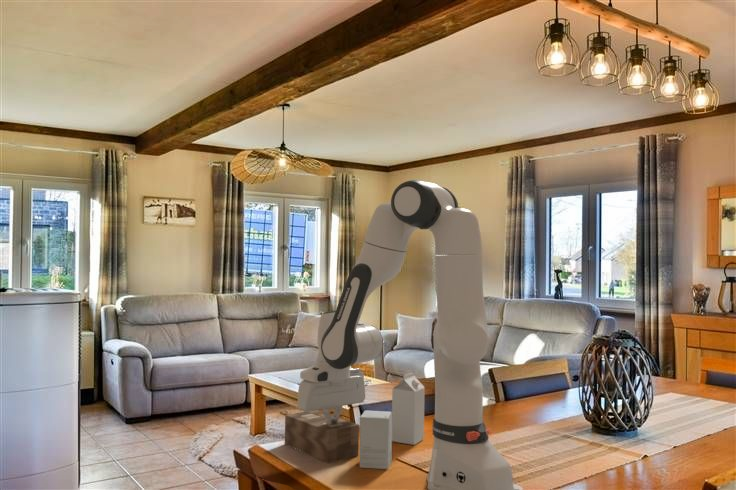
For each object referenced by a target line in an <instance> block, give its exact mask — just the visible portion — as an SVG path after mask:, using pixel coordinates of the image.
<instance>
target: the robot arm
mask: <svg viewBox="0 0 736 490" xmlns="http://www.w3.org/2000/svg"><path fill="white" fill-rule="evenodd" d="M391 194H392V195H391V198H390V202H382V203H380V204H379V205H378V206H377V207H375V209H374V212H373V214H372V216H371V218H370V221H369V224H368V226H367V229H366V232H365V236H364V239H363V240H364V241H363V244H362V248H361V251H360V253H359V255H358V258H357V261H356V262H355V264H354V266H353V268H352V270H350V272H349V274H348V276H347V280H346V281H345V284H344V286H343V289H342V292H341V295H340V298H339V300H338V303H337V307H336V308H335V309H336V310H329V311H325V312H323V313H322V314H321V315H320V317H319V320H318V327H317V347H318V354H317V358H316V363H315V364H313V365H311V366H309V367H307V368H306V369H305V368H304V369H303V370H302V371H301V372H300V374H299V375H300V376H299V377H300V379H301V382H300V383H299V385H298V389H297V390H298V391H297V406H298V408H299V410H301V411H302V412H309V411H315V410H316V411H320V410H322V413H324V415H325V417H326V424H328V425H331V424H336V423H338V421H339V418H340V415H341V413H342V412H343V406H344V407H345V406H349V405H350V406H351V405H355V404H361V403H364V401H365V400H366V385H365V380H364V379H365V378H364V377H365V375H364V374H365V373H364V371H363V370H362V369H360V368H359V367H356V368H351V367H352V366H354V365H358V364H363V363H366V362H370V361H373V360H375V359H377V358H378V357H379V356H380V355H381V353H382V352H383V349H384V338H383V336H382V334H381V331H380V330H379V329H378V328H377V327H376V326H374V325H373V324H371V325H370V324H368V323H365V322H363V321H361V320H360V319H361V317H362V314H363V310H364V308H365V305H366V302H367V299H368V298H369V296H370V295H372V293H373V292H374V291H375V290H377V289H378V288H379V287H381V286H383V285H384V284H386V283H388V282H390V281H392V280H393V279H395V278H396V277H397V276H398V275H399V273H400V271H401V269H402V268H403V265H404V262H405V258H406V254H407V250H408V246H409V242H410V239H411V235H412V234H413V233H414V232H415V231H416V230H418V229H419V230H429V231H430V232H431V233H432V236H433V238H434V270H435V272H434V274H435V276H434V281H435V282H434V283H435V284H434V285H435V286H434V287H435V295H436V297H435V298H436V306H437V319H438V320H437V322H436V323H435V325H434V328H433V364H434V365H433V366H434V368H433V369H434V385H435V387H434V388H435V389H434V395H435V396H434V418H433V420H432V426H431V427H432V435H433V444H432V445H433V446H432V452H431V461H430V465H429V470H428V474H427V476H426V481H427V487H426V488H427V490H524V488H523V486H520V485H519V484H516V483H514V477H513V470H512V466H511V464H510V462H509V461H508V460H507V459H506V458H505V457H504V456H503V455H502V453H500V451H499V450H498V449H497V448H496V447H495V446H494V445H493V444H492V442H490V440H489V434H492V433H493V432H492V430H493V428H492V427H489V428H486V425H485V422H484V421H483V408H484V407H483V405H484V404H483V400H484V399H483V398H484V397H483V396H484V395H483V392H484V388H483V387H484V385H483V382H482V373H481V372H482V371H481V363H480V362H481V360H482V359H483V358H484V357H485V356H486V354H487V352H488V349H489V344H490V341H489V333H488V332H489V331H488V321H487V320H488V319H487V311H486V304H485V295H484V287H483V286H484V284H483V282H484V281H483V280H484V279H483V245H482V244H483V243H482V236H481V230H480V225H479V221H478V217H477V215H476V214H475V213H474V212H473V211H472V210H469V209H466V208H463V207H459V202H458V200H457V198H456V196H455V195H454V194H453V192H452V191H451V190H449V189H448V188H446V187H443V186H440V185H438V184H436V183H433V182H430V181H426V180H425V181H423V180H421V179H420V180H419V179H411V180H407V181H404V182H402V183H400V184H399V185H398V186H397V187H396V188H395V189H394V191H393V193H391ZM332 408H333V410H334V411H333V414H332V415H331V413H332Z"/></svg>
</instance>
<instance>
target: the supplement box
mask: <svg viewBox="0 0 736 490" xmlns="http://www.w3.org/2000/svg"><path fill="white" fill-rule="evenodd" d="M392 443H393V441H392V411H386V410H384V411H383V410H382V411H381V410H369V409H368V410H364V411H363V412H362V414H361V415H360V416H359V468H361V469H362V468H365V469H378V470H389V467H390V465H391V463H392V459H393V457H392V454H393V453H392V446H393V445H392Z"/></svg>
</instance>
